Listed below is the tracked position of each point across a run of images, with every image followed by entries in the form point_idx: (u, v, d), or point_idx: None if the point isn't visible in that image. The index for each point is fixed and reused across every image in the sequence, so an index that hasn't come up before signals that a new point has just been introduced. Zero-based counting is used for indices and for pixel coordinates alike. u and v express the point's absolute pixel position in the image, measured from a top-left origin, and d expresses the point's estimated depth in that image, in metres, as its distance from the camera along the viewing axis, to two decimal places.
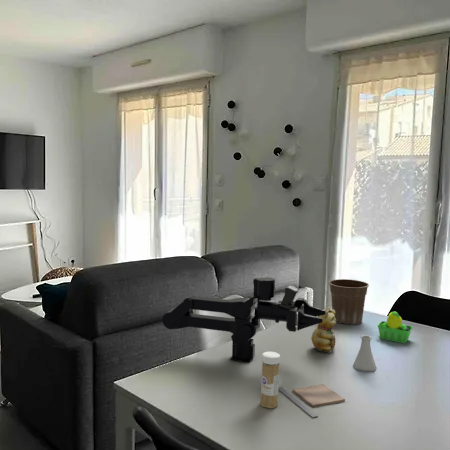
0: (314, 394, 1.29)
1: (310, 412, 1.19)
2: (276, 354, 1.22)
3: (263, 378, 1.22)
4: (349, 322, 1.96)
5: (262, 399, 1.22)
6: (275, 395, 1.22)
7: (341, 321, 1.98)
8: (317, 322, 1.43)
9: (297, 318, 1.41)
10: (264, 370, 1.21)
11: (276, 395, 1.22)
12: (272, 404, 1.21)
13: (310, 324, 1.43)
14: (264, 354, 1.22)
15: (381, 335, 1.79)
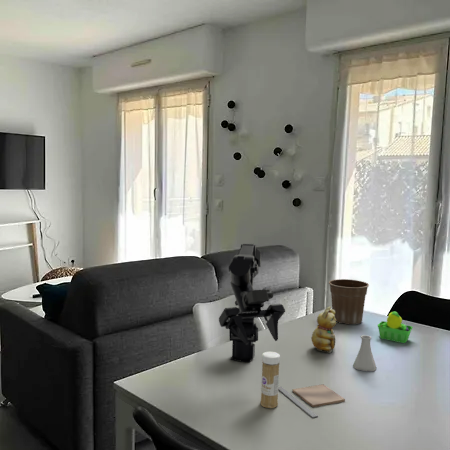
0: (314, 394, 1.29)
1: (310, 412, 1.19)
2: (276, 354, 1.22)
3: (263, 378, 1.22)
4: (349, 322, 1.96)
5: (262, 399, 1.22)
6: (275, 395, 1.22)
7: (341, 321, 1.98)
8: (242, 340, 1.29)
9: (229, 320, 1.30)
10: (264, 370, 1.21)
11: (276, 395, 1.22)
12: (272, 404, 1.21)
13: (237, 335, 1.30)
14: (264, 354, 1.22)
15: (381, 335, 1.79)
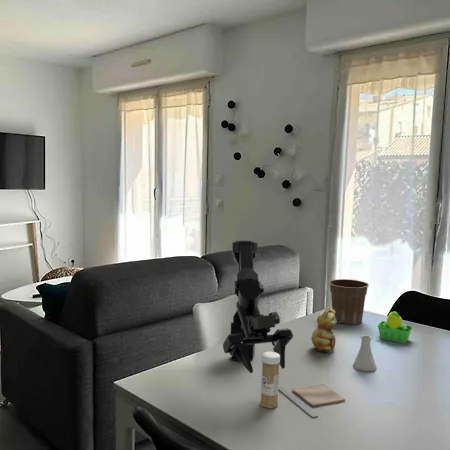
0: (314, 394, 1.29)
1: (310, 412, 1.19)
2: (276, 354, 1.22)
3: (263, 378, 1.22)
4: (349, 322, 1.96)
5: (262, 399, 1.22)
6: (275, 395, 1.22)
7: (341, 321, 1.98)
8: (247, 368, 1.23)
9: (233, 347, 1.24)
10: (264, 370, 1.21)
11: (276, 395, 1.22)
12: (272, 404, 1.21)
13: (242, 362, 1.24)
14: (264, 354, 1.22)
15: (381, 335, 1.79)
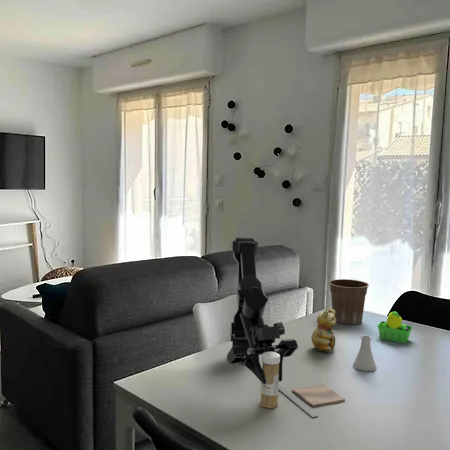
0: (314, 394, 1.29)
1: (310, 412, 1.19)
2: (276, 354, 1.22)
3: None
4: (349, 322, 1.96)
5: (262, 399, 1.22)
6: (275, 395, 1.22)
7: (341, 321, 1.98)
8: (260, 379, 1.22)
9: (245, 357, 1.23)
10: (264, 370, 1.21)
11: (276, 395, 1.22)
12: (272, 404, 1.21)
13: (254, 373, 1.23)
14: (264, 354, 1.22)
15: (381, 335, 1.79)
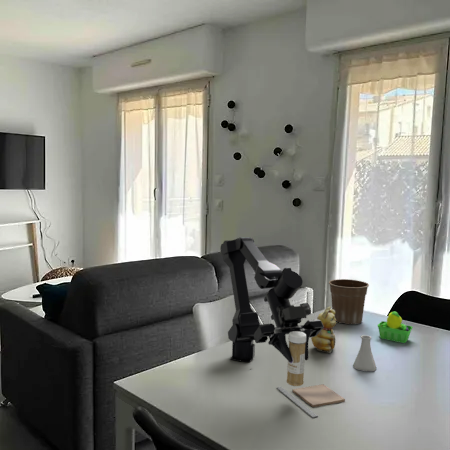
0: (314, 394, 1.29)
1: (310, 412, 1.19)
2: (302, 333, 1.25)
3: None
4: (349, 322, 1.96)
5: (288, 377, 1.25)
6: (301, 373, 1.24)
7: (341, 321, 1.98)
8: (286, 357, 1.24)
9: (272, 336, 1.26)
10: (290, 349, 1.24)
11: (302, 373, 1.25)
12: (298, 382, 1.24)
13: (281, 352, 1.26)
14: (291, 333, 1.25)
15: (381, 335, 1.79)
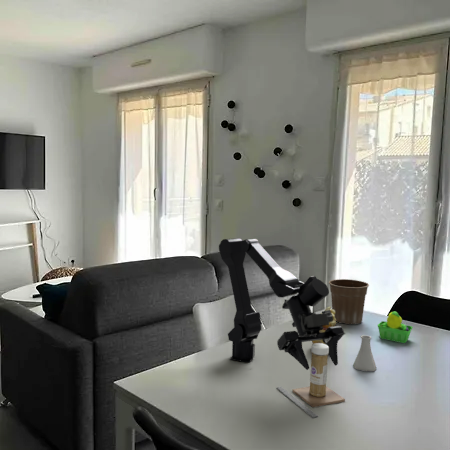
0: None
1: (310, 412, 1.19)
2: (325, 345, 1.28)
3: (312, 368, 1.28)
4: (349, 322, 1.96)
5: (311, 388, 1.28)
6: (324, 384, 1.27)
7: (341, 321, 1.98)
8: (303, 365, 1.26)
9: (289, 344, 1.28)
10: (313, 360, 1.27)
11: (325, 384, 1.28)
12: (321, 393, 1.27)
13: (297, 359, 1.28)
14: (313, 345, 1.28)
15: (381, 335, 1.79)
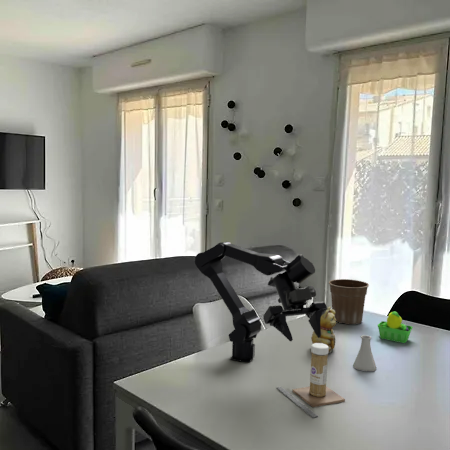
0: None
1: (310, 412, 1.19)
2: (325, 345, 1.28)
3: (312, 368, 1.28)
4: (349, 322, 1.96)
5: (311, 388, 1.28)
6: (324, 384, 1.28)
7: (341, 321, 1.98)
8: (287, 337, 1.34)
9: (273, 318, 1.35)
10: (313, 360, 1.27)
11: (325, 384, 1.28)
12: (321, 393, 1.27)
13: (282, 332, 1.35)
14: (313, 345, 1.28)
15: (381, 335, 1.79)
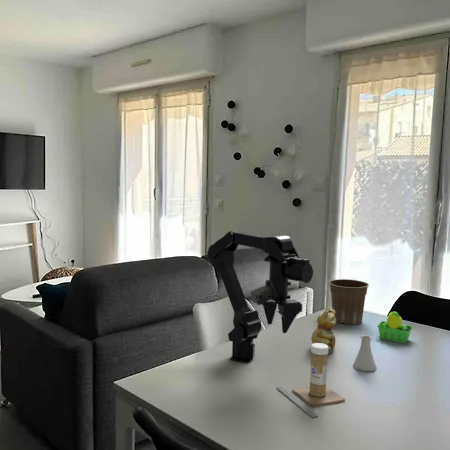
0: None
1: (310, 412, 1.19)
2: (324, 345, 1.28)
3: (312, 368, 1.28)
4: (349, 322, 1.96)
5: (311, 388, 1.28)
6: (324, 384, 1.28)
7: (341, 321, 1.98)
8: None
9: None
10: (313, 360, 1.27)
11: (325, 384, 1.28)
12: (321, 393, 1.27)
13: None
14: (313, 345, 1.28)
15: (381, 335, 1.79)
